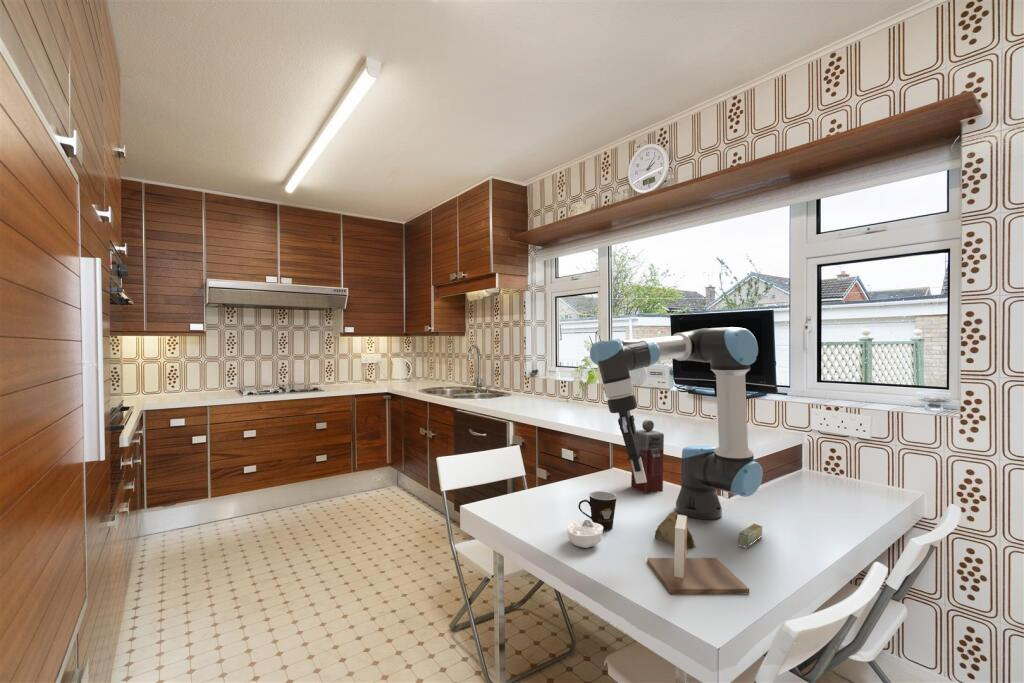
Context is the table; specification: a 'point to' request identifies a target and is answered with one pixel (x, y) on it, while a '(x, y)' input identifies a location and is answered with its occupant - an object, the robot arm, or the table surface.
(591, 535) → the cell model
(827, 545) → the table surface
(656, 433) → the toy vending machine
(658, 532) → the rock
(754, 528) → the medication box
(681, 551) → the tile
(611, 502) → the coffee mug
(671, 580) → the board
